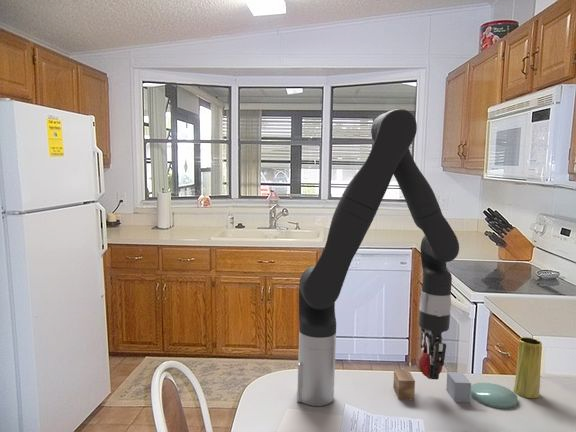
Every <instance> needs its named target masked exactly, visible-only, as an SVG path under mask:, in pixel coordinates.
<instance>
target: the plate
mask: <svg viewBox="0 0 576 432" xmlns="http://www.w3.org/2000/svg"><path fill="white" fill-rule="evenodd" d="M470 397H472V398H473V400H475V401H476V402H478V403H480V404H483V405H485V406H488V407H491V408H498V409H510V408H514V407H516V405H517V403H518V396H517V393H515V391H514V390H511V389H509V388H507V387H506V386H503V385H500V384H496V383H491V382H476V383H473V384H471V394H470Z"/></svg>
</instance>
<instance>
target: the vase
mask: <svg viewBox="0 0 576 432" xmlns="http://www.w3.org/2000/svg"><path fill="white" fill-rule="evenodd" d="M542 347H543V343H542V341H541V340H539V339H535V338H534V337H528V336H525V337H524V336H523V337H519V340H518V348H517V359H516V360H517V361H516V366H515V367H516V368H515V380H514V387H513V392H514V393H515V394H516V395H518V396H520V397H523V398H526V399H537V398H539V397H540V395H541V394H540V389H541V367H542V366H541V364H542Z"/></svg>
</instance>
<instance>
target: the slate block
mask: <svg viewBox="0 0 576 432" xmlns="http://www.w3.org/2000/svg"><path fill="white" fill-rule="evenodd" d="M471 385H472V382H471V381H470V380H469V378H468V377H467V376H466V374H464V372H458V371H456V372H455V371H453V372H452V371H447V372H446V386H445V387H446V388H445V390H446V392H447V393H448V394H449V397H451V399H452V401H453V402H460V403H463V402H464V403H470V402H471V395H470V394H471Z"/></svg>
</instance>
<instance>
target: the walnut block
mask: <svg viewBox="0 0 576 432" xmlns="http://www.w3.org/2000/svg"><path fill="white" fill-rule="evenodd" d="M392 385H393V387H392V388H393V389H394V393H395V395H396V397H397V399H398V400H411V401H413V400H415V392H416V391H415V390H416V389H415V388H416V380H415V378H414V377H413V375H412V373H411V371H410V370H406V369H405V370H403V369H394V370H393V384H392Z"/></svg>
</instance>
